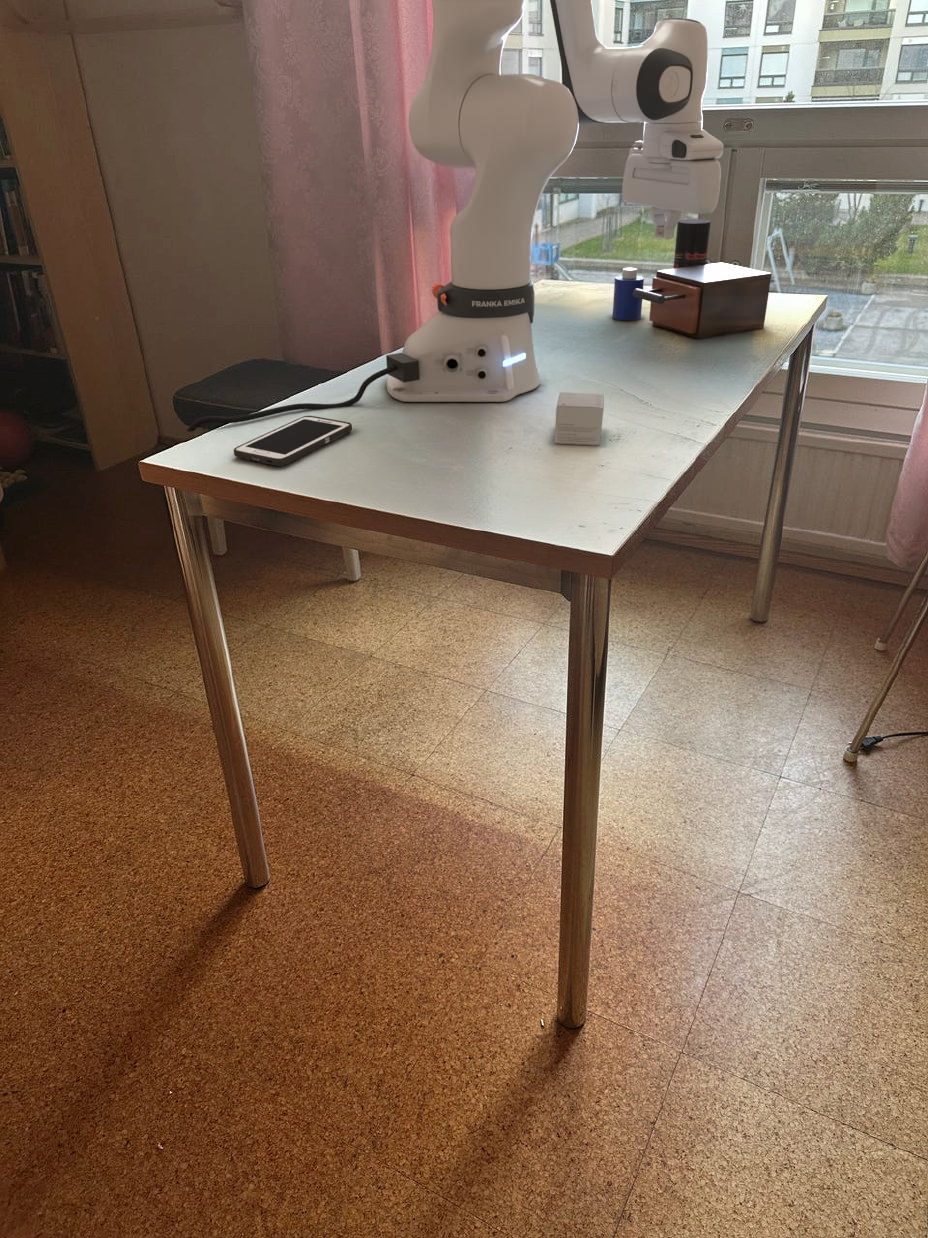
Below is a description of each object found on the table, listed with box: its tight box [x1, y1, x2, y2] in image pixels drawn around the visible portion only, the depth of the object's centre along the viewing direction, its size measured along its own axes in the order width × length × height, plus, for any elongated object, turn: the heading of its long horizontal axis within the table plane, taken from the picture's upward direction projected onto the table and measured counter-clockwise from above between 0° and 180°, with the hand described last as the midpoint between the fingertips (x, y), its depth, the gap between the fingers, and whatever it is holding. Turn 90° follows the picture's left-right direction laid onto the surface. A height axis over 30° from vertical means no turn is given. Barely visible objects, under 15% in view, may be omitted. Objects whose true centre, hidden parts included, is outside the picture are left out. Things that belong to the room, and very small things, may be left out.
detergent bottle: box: [612, 267, 645, 322], centre depth 166 cm, size 5×5×8 cm
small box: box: [554, 391, 605, 446], centre depth 112 cm, size 6×6×5 cm
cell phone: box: [233, 415, 353, 467], centre depth 113 cm, size 8×15×1 cm, turn 150°
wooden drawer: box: [633, 276, 701, 334], centre depth 157 cm, size 19×11×7 cm, turn 118°
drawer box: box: [651, 262, 772, 340], centre depth 159 cm, size 15×13×9 cm
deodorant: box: [672, 218, 712, 269], centre depth 172 cm, size 6×6×15 cm
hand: (663, 238), depth 149 cm, fingers closed
